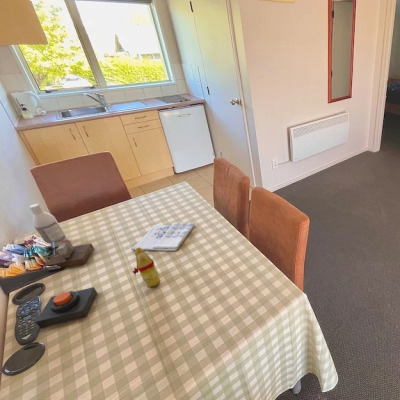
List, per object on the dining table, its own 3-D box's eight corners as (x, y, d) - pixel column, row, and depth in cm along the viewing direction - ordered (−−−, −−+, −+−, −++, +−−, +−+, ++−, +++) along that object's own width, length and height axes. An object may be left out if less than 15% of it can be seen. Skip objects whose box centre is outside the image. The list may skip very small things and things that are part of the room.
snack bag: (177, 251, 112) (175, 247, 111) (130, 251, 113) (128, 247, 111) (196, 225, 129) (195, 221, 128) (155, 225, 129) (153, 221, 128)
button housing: (40, 328, 82) (31, 318, 79) (56, 303, 90) (48, 292, 88) (86, 317, 85) (79, 306, 83) (97, 293, 93) (91, 283, 91)
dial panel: (48, 271, 103) (44, 265, 101) (60, 255, 111) (56, 249, 109) (85, 264, 106) (81, 258, 105) (94, 248, 114) (91, 242, 113)
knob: (68, 257, 105) (62, 247, 102) (62, 258, 104) (56, 248, 102) (74, 249, 110) (68, 239, 107) (69, 250, 109) (62, 240, 106)
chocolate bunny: (155, 267, 104) (142, 237, 97) (163, 283, 97) (149, 252, 90) (135, 276, 100) (120, 245, 93) (142, 293, 93) (126, 261, 86)
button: (53, 307, 83) (50, 303, 82) (59, 297, 86) (56, 293, 86) (69, 303, 84) (66, 299, 83) (74, 294, 88) (71, 290, 87)
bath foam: (49, 242, 118) (24, 204, 108) (69, 237, 121) (46, 199, 111) (47, 251, 113) (20, 212, 103) (68, 245, 116) (44, 206, 106)
